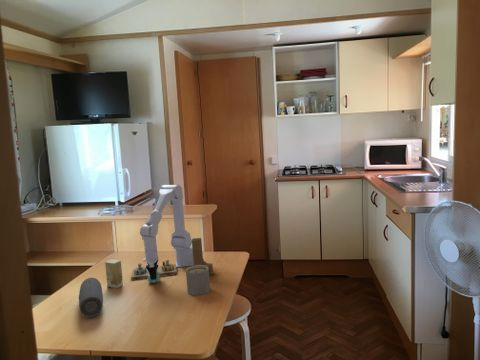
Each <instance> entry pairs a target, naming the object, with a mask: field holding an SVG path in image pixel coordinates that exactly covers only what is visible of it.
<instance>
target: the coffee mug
mask: <svg viewBox="0 0 480 360" xmlns="http://www.w3.org/2000/svg"><path fill="white" fill-rule="evenodd" d="M185 277H186V287H187V294H188V295H191V296H202V295H205V294H208V293H209V292H210V291H211V283H210V282H211V281H210V275H209V269H208V267H207V266H205V265H195V266H194V265H191V266H187V268H186V269H185Z"/></svg>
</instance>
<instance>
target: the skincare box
mask: <svg viewBox="0 0 480 360" xmlns="http://www.w3.org/2000/svg"><path fill="white" fill-rule="evenodd" d="M104 265H105V266H104V267H105V274H106V275H105V276H106V285H107V287H108V288H114V289H118V288H120V287H122V286H123V285H124V281H123V273H122V272H123V270H122V268H123V267H122V260H118V259H112V258H111V259H108V260H107V261H105V262H104Z"/></svg>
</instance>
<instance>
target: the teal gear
mask: <svg viewBox="0 0 480 360" xmlns="http://www.w3.org/2000/svg"><path fill="white" fill-rule="evenodd" d="M146 279H147V282H148V283H154V284H155V283H156V282H159V281H160V280H161V276H160V273H159V272H156V279H155V280H151V278H150V274H148V275H147V278H146Z"/></svg>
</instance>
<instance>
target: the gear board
mask: <svg viewBox="0 0 480 360" xmlns="http://www.w3.org/2000/svg"><path fill="white" fill-rule="evenodd" d="M157 272H159V273H160V277H167V276H174V275H178V271H177V267H176V263H175V264H174V263H173V262H170V261H169V259H165V261H162V265H161V266H159V265H158V268H157ZM148 274H149V272H148V270H147V269H146V266H142V263H137V267H135V268H133V269H132V271H131V276H130V280H131V281H137V280H143V279H144V280H145V279H148V278H147V275H148Z"/></svg>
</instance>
